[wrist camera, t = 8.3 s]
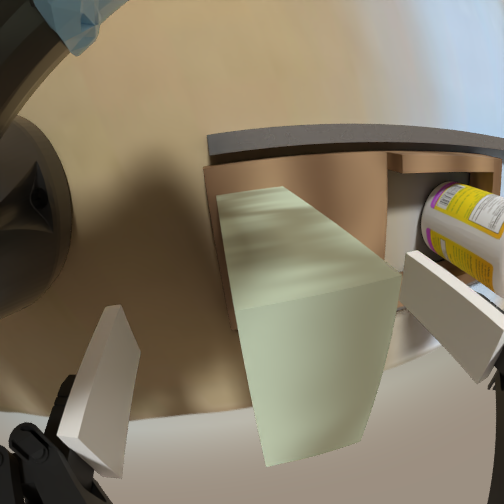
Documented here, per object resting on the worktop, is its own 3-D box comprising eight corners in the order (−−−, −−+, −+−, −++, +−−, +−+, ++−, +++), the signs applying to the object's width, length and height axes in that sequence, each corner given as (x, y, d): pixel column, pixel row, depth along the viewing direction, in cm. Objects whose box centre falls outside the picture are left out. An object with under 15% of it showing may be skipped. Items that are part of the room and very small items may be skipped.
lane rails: (239, 336, 23) (241, 348, 21) (207, 135, 17) (207, 135, 15) (518, 256, 26) (525, 260, 25) (531, 144, 20) (539, 147, 19)
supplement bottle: (454, 252, 23) (548, 318, 11) (409, 247, 22) (519, 331, 10) (471, 187, 21) (578, 233, 9) (427, 171, 20) (560, 220, 8)
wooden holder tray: (230, 320, 22) (257, 481, 10) (203, 166, 17) (193, 236, 5) (467, 263, 24) (554, 328, 12) (478, 153, 19) (591, 189, 7)
